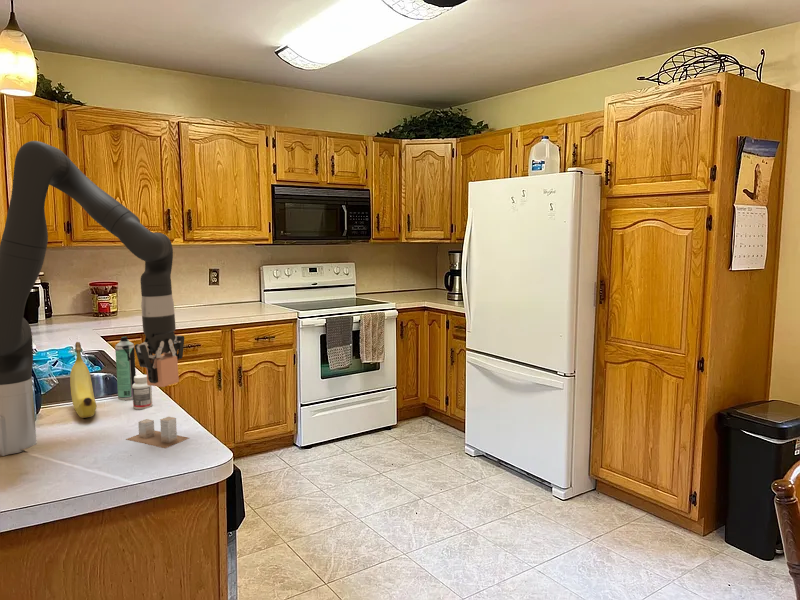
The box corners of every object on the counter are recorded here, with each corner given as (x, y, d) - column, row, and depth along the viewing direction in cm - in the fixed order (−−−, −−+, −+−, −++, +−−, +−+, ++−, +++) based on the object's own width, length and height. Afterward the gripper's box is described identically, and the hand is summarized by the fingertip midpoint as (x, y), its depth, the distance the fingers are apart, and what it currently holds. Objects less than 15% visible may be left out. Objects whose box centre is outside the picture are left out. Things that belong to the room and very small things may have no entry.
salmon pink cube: (162, 386, 143) (160, 360, 143) (147, 385, 146) (145, 359, 145) (178, 381, 148) (177, 356, 147) (163, 379, 150) (161, 354, 149)
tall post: (168, 443, 145) (167, 420, 144) (161, 441, 146) (160, 419, 146) (177, 440, 147) (176, 417, 147) (169, 438, 149) (168, 416, 148)
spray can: (140, 397, 189) (137, 336, 187) (124, 401, 184) (121, 338, 182) (130, 394, 192) (127, 334, 189) (114, 398, 187) (111, 337, 185)
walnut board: (165, 451, 142) (165, 448, 142) (125, 442, 148) (125, 439, 148) (190, 440, 149) (190, 437, 149) (151, 432, 155) (151, 429, 155)
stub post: (146, 438, 149) (145, 423, 148) (139, 436, 150) (138, 421, 149) (154, 435, 151) (153, 420, 150) (147, 433, 152) (146, 419, 152)
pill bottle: (136, 405, 180) (135, 374, 179) (154, 404, 181) (153, 373, 180) (130, 410, 175) (128, 378, 174) (149, 409, 175) (147, 378, 174)
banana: (101, 422, 164) (96, 352, 161) (77, 426, 161) (72, 354, 158) (91, 402, 182) (87, 340, 180) (70, 405, 179) (66, 341, 177)
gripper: (145, 318, 137) (151, 388, 139) (191, 310, 150) (195, 374, 152) (123, 316, 140) (128, 385, 142) (169, 308, 153) (174, 372, 155)
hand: (163, 379), depth 147 cm, fingers closed on salmon pink cube, 5 cm apart
